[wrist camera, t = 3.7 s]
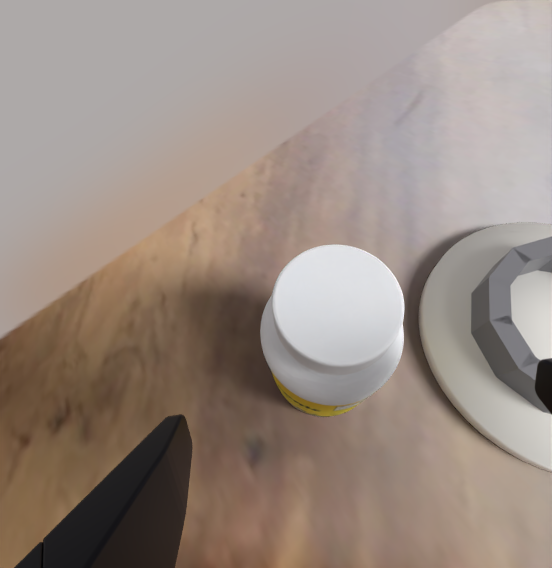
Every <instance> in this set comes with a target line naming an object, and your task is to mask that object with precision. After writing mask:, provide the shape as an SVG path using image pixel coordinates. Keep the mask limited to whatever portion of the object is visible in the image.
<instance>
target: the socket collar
mask: <svg viewBox="0 0 552 568" xmlns="http://www.w3.org/2000/svg"><path fill="white" fill-rule="evenodd" d="M419 331H420V338H421V343H422V346H423V350H424V354H425V357H426V359H427V362H428V364H429V366H430V369H431V371H432V373H433V375H434V377H435V379H436V380H437V382H438V384H439V386H440V388H441V389H442V390H443V392H444V393H445V395H446V396H447V397H448V399H449V400H450V402H451V403H452V404H453V406H454V407H455V408H456V409H457V410H458V411H459V412H460V413H461V415H462V416H463V417H464V418H465V419H466V420H467V421H468V422H469V423H470V424H471V425H472V426H473V427H475V428H476V429H477V430H478V431H479V432H480V433H481V434H482V435H484V436H485V437H486V438H488V439H489V440H490V441H492V442H493V443H494V444H496V445H497V446H498V447H500V448H501V449H503V450H505V451H506V452H508V453H510V454H511V455H513V456H515V457H517V458H518V459H520V460H522V461H524V462H527V463H529V464H531V465H533V466H535V467H538V468H540V469H543V470H546V471H549V472H552V414H551V413H550V412H549V411H548V409H547V408H546V407H545V405H544V404H543V403H542V402H541V400H540V399H539V398H538V396H537V394H536V392H535V379H536V371H537V365H538V363H539V361H540V360H542V359H548V358H552V225H551V224H543V223H509V224H501V225H497V226H492V227H488V228H485V229H483V230H480V231H477V232H475V233H473V234H471V235H469V236H467V237H465V238H463V239H462V240H460V241H459V242H458V243H456V244H455V245H453V246H452V247H451V248H450V249H449V250H448V251H447V252H446V253H445V254H444V255H443V257H442V258H441V259H440V261H439V262H438V263H437V265H436V266H435V268H434V269H433V270H432V272H431V273H430V275H429V277H428V279H427V281H426V283H425V285H424V288H423V291H422V294H421V299H420V305H419Z"/></svg>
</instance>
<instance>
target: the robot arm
mask: <svg viewBox="0 0 552 568" xmlns="http://www.w3.org/2000/svg"><path fill="white" fill-rule="evenodd" d="M535 392H536V394H537V396H538V398H539V399H540V400H541V402H542V403H543V404H544V405H545V407H546V408H547V409H548V411H549V412H550V413H551V414H552V358H548V359H542V360H540V361H539V363H538V365H537V371H536V379H535ZM191 458H192V439H191V436H190V432H189V429H188V425H187V422H186V419H185V417H184V415H182V414H180V415H173V416H168V417H166V418H165V419H164V420H163V421H162V422H161V423H160V424H159V425H158V426H157V427H156V428H155V429H154V430H153V431H152V432H151V433H150V434H149V435H148V436H147V437H146V438H145V439H144V440H143V441H142V442H141V443H140V444H139V445H138V446H137V447H136V448H135V449H134V450H133V451H132V452H131V453H130V454H129V455H128V456H127V457H126V458H125V459H124V460H123V461H122V462H120V463H119V464H118V465H117V466H116V467H115V468H114V469H113V470H112V471H111V472H110V473H109V474H108V475H107V476H106V477H105V478H104V479H103V480H102V481H101V482H100V483H99V484H98V485H97V486H96V487H95V488H94V489H93V490H92V491H91V492H90V493H89V494H88V495H87V496H86V497H85V498H84V499H83V500H82V501H81V502H80V503H79V504H78V505H77V506H76V507H75V508H74V509H73V510H72V511H71V512H70V513H69V514H68V515H67V516H66V517H65V518H64V519H63V520H62V521H61V522H60V523H59V524H58V525H57V526H56V527H55V528H54V529H53V530H52V531H51V532H50V533H49V534H48V535H47V536H46V537H45V538H44V540H43V542H40V543H39V544H38V545H37V546H36V547H35V548H34V549H33V550H32V551H31V552H30V553H29V554H28V555H27V556H26V557H25V558H24V559H23V560H21V561H20V562H19V563H18V564H17V565H16V566H15V567H14V568H175V564H176V560H177V555H178V550H179V545H180V540H181V535H182V530H183V525H184V520H185V514H186V507H187V498H188V488H189V478H190V468H191Z"/></svg>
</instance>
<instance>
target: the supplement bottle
mask: <svg viewBox="0 0 552 568" xmlns="http://www.w3.org/2000/svg"><path fill="white" fill-rule="evenodd" d="M403 318H404V299H403V294H402V291H401V288H400V286H399V283H398V281H397V279H396V278H395V276H394V275H393V273H392V272H391V271H390V269H389V268H388V267H387V266H386V265H385V264H384V263H383V262H382V261H380V260H379V259H378V258H376V257H375V256H373V255H372V254H370V253H368V252H366V251H363V250H361V249H358V248H355V247H351V246H346V245H337V244H335V245H324V246H319V247H315V248H312V249H309V250H306V251H304V252H303V253H301V254H299V255H298V256H296V257H295V258H293V259H292V260H291V261H290V262H289V263H288V264H287V265H286V266H285V267H284V269H283V270H282V271H281V273H280V274H279V276H278V278H277V280H276V283H275V285H274V289H273V292H272V295H271V297H270V299H269V300H268V302H267V304H266V307H265V309H264V312H263V315H262V320H261V327H260V338H261V345H262V349H263V354H264V357H265V359H266V362H267V364H268V366H269V369H270V370H271V372H272V375H273V377H274V379H275V382H276V384H277V386H278V388H279V390H280V392H281V393H282V395H283V396H284V397H285V398H286V400H287V401H288V402H289V403H290V404H291V405H293V406H294V407H295V408H297V409H298V410H300V411H302V412H304V413H306V414H309V415H313V416H318V417H330V416H336V415H340V414H343V413H346V412H348V411H349V410H351V409H353V408H354V407H356V406H357V405H358V404H360V403H361V402H363V401H364V400H366V399H367V398H368V397H370V396H371V395H373V394H374V393H375V392H377V391H378V390H379V389H380V388H381V387H382V386H383V385H384V384H385V383H386V382H387V381H388V380H389V378H390V377H391V375H392V374H393V373H394V371H395V369H396V368H397V365H398V363H399V361H400V358H401V354H402V350H403V343H404V331H403V324H402V323H403Z"/></svg>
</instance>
